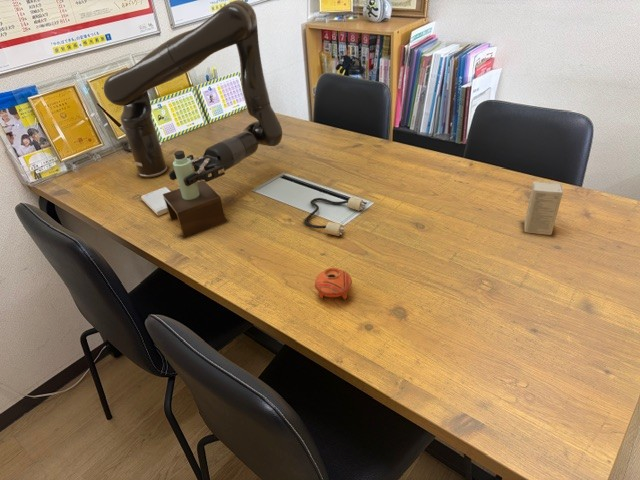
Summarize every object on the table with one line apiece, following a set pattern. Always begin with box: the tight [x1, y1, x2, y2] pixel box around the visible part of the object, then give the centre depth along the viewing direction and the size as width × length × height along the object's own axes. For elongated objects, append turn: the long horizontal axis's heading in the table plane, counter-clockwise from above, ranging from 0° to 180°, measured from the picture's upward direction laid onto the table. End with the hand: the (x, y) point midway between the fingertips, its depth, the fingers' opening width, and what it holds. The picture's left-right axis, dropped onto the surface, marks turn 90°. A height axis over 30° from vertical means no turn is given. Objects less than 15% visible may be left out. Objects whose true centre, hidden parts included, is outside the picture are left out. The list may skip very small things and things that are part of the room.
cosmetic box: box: [523, 181, 564, 236], centre depth 107 cm, size 6×4×12 cm
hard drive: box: [140, 186, 172, 217], centre depth 134 cm, size 2×8×12 cm
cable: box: [304, 196, 366, 237], centre depth 120 cm, size 16×16×4 cm
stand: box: [163, 180, 227, 238], centre depth 123 cm, size 12×12×8 cm
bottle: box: [172, 150, 200, 200], centre depth 117 cm, size 5×5×13 cm
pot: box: [314, 267, 353, 301], centre depth 95 cm, size 8×8×7 cm
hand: (177, 179), depth 115 cm, fingers open, 5 cm apart
